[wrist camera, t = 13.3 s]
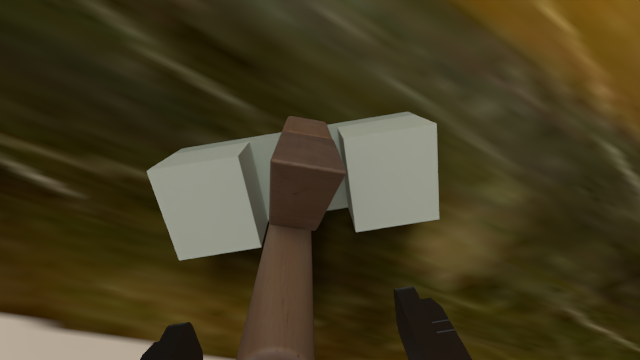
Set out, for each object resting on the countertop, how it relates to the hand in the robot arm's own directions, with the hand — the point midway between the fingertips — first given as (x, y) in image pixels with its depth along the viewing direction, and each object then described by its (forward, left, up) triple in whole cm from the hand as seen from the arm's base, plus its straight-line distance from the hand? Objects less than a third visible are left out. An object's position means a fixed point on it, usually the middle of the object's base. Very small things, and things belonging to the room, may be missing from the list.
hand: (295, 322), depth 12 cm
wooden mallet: (0, 0, -18) cm, 18 cm away
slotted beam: (0, 0, -20) cm, 20 cm away
